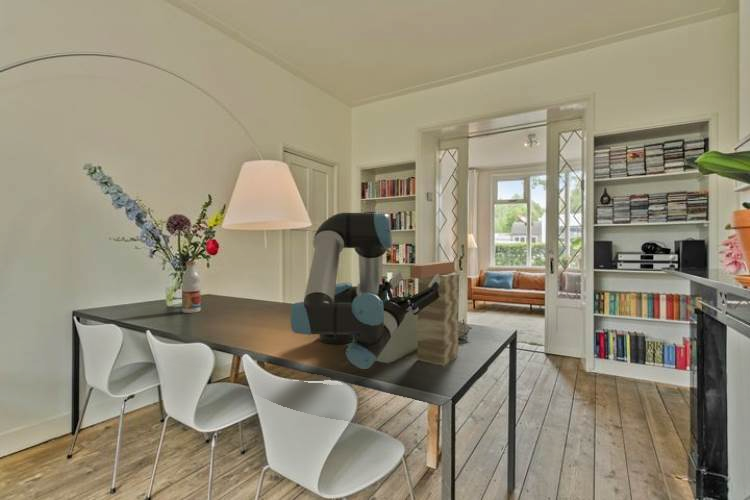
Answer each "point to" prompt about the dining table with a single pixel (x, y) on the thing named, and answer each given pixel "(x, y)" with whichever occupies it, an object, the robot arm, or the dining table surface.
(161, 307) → the dining table surface
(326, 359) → the dining table surface
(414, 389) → the dining table surface
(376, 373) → the dining table surface
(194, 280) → the fruit juice
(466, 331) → the grey bushy clump
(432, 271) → the beam
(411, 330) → the bin
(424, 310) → the stand
